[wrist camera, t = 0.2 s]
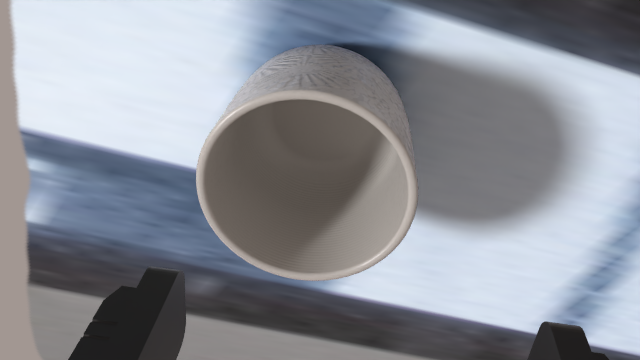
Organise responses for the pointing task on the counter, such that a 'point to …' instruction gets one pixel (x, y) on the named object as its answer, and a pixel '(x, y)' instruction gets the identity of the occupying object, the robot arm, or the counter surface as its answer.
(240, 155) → the planter
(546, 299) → the counter surface
